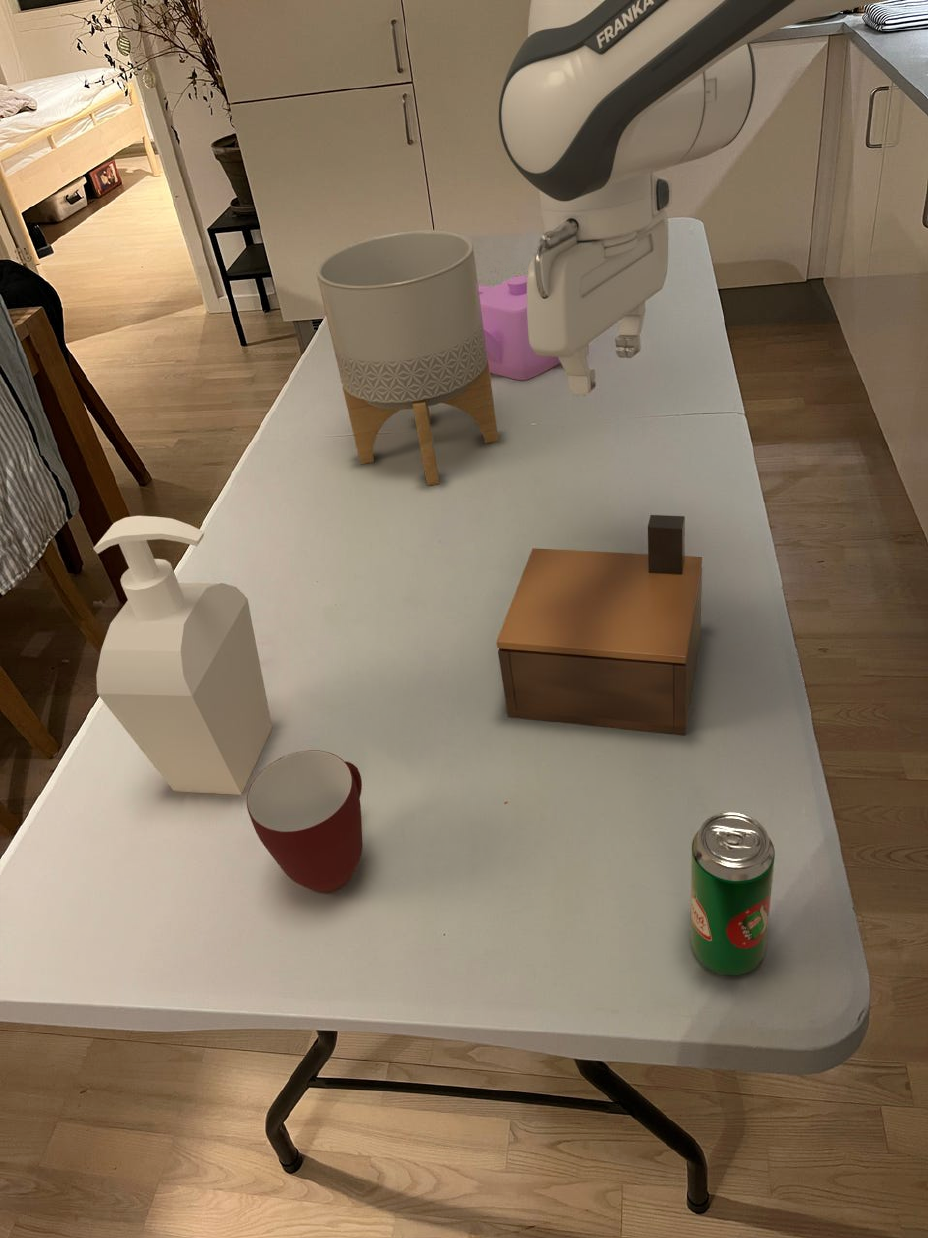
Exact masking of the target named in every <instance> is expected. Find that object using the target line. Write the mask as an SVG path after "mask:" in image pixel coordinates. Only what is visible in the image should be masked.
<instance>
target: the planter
mask: <svg viewBox="0 0 928 1238" xmlns="http://www.w3.org/2000/svg"><path fill="white" fill-rule="evenodd" d="M474 250H475V249H474V244H473V242H472V240H471V239H470V238H469V237H467V236H466V235H464V234H461V233H459V232H455V231H450V230H442V229H441V230H438V229H418V230H417V229H416V230H404V231H397V232H391V233H386V234H381V235H377V236H373V237H372V236H371V237H368V238H365V239H362V240H358V241H356V242H352V243H350V244H347V245H345V246H343V247H340V248H339V249H336V250H334V251H332V252H331V253H330V254H327V256H325V257H324V258H323V259H322V260H321V261H320V262H319V263H318V264H317V266H316V269H315V273H316V278H317V283H318V286H319V289H320V290H319V291H320V295H321V300H322V304H323V309H324V313H325V316H326V320H327V325H328V330H329V334H330V337H331V342H332V346H333V352H334V355H335V360H336V364H337V365H336V366H337V368H338V373H339V377H340V381H341V386H342V391H343V395H344V399H345V403H346V404H345V405H346V408H347V409H346V410H347V413H348V417H349V422H350V425H351V426H350V427H351V430H352V434H353V438H354V443H355V447H356V451H357V457H358V461H359V463H360V465H364V464H370V463H374V462H375V456H374V447H375V441H376V438H377V435H378V433H379V431H380V430H381V428H382V427H383V425H384V424H385V423H386V422H387V421H388V420H389V419H390V418H391V417H392V416H394V415H395V414H397V413H398V412H400V411H407V410H413V415H414V421H415V427H416V432H417V437H418V442H419V443H418V444H419V448H420V453H421V459H422V464H423V468H424V473H425V480H426V485H427V486H428V487H429V486H430V487H431V486H434V485H440V477H439V471H438V466H437V459H436V454H435V447H434V442H433V441H434V440H433V436H432V429H431V424H432V421H431V413H430V407H433V406H435V405H439V404H444V405H448V406H451V407H453V408H457V409H459V410H460V411H463V412H464V413H465V414H467V415H468V416H469V417H470V418H471V419H472V420H473V421H474V422H475V423H476V425H477V426H478V428H479V430H480V432H481V434H482V437H483V442H484V444H489V443H495V442H499V435H498V426H497V419H496V412H495V404H494V395H493V387H492V381H491V373H490V371H489V363H488V358H487V350H486V342H485V334H484V327H483V319H482V311H481V303H480V296H479V288H478V286H479V281H478V273H477V266H476V257H475V251H474Z"/></svg>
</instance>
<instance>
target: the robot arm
mask: <svg viewBox="0 0 928 1238" xmlns="http://www.w3.org/2000/svg"><path fill="white" fill-rule="evenodd" d="M887 1H889V0H531V1H530V6H529V11H528V12H529V13H528V24H527V38H526V39H525V40H524V42H522V44H521V46H520V48H518V51H517V52H516V54H515V56H514V58H513V60H512V62H511V64H510V65H509V69H508V71H507V73H506V76H505V78H504V82H503V85H502V89H501V93H500V97H499V103H498V127H499V133H500V138H501V142H502V146H503V147H504V151H505V152H506V155H507V156H508V157H509V160H510V161H511V163H512V164H513V165H514V167H515V168H516V169H517V171H518V172H519V174H521V175H522V176H523V177H524V178H525V180H527V181H528V182H529V183H530V184H531V185H532V186H533V187H535V188H536V189H537V190H538V194H539V205H540V206H539V207H540V215H541V216H540V217H541V226H542V235H541V236H540V238H539V245H538V247H537V250H536V252H535V253H534V255H533V258H532V260H531V261H530V263H529V266H528V269H527V275H526V276H527V320H528V337H529V343H530V346H531V348H532V349H533V351H534V352H535V354H536V355H539V356H548V357H559V361H560V364H561V366H562V368H563V370H564V371H565V373H566V375H567V378H568V379H567V380H568V390H569V392H570V394H571V395H573V396H579V397H585V396H587V395H589V394H590V393H591V392H592V391H594V390H595V388H596V385H597V384H596V371H595V370H596V369H590V366H589V363H588V361H587V356H588V355H589V353H590V352H589V351H590V349H589V344H590V343H591V342H593V341H594V340H595V339H597V338H598V337H600V335H602V334H603V333H605V332H606V331H607V330H609V329H610V328H612V327H614V325H616V324H617V323H619V327H618V335H617V336H616V337H615V338H614V340H615V342H614V343H615V347H616V348H615V355H617V356H616V357H618V358H622V359H623V358H626V359H632V358H634V356H636V355H637V354H638V353H640V351H641V349H642V348H641V334H642V328H643V324H644V319H645V315H646V302H647V301H648V300H649V299H650V298H652V297H653V296H654V295H656V294H658V293H659V292H661V290H663V288H664V285H665V282H666V278H667V274H668V266H669V218H668V214H667V211H666V210H665V209H668V208H669V207H670V206H671V204H672V200H673V199H672V198H673V197H672V196H673V189H672V187H673V186H672V182H671V180H670V179H669V178H667V177H664V176H661V175H658V174H656V173H657V172H660V171H663V170H666V169H669V168H671V167H675V166H679V165H682V164H685V163H689V162H692V161H696V160H699V159H702V158H705V157H708V156H709V155H712V154H713V153H715V152H718V151H719V150H721V149H723V148H725V147H727V146H728V145H730V144H731V143H732V142H733V141H734V140H735V139H736V138H737V136H738V135H739V134H740V132H741V131H742V129H743V128H744V125H745V124H746V121H747V120H748V117H749V115H750V113H751V112H750V111H751V109H752V107H753V106H752V105H753V102H754V97H755V90H756V79H757V77H756V62H755V56H754V52H753V48H752V45H751V42H753V41H754V40H757V39H759V38H761V37H764V36H766V35H767V34H770V33H773V32H776V31H778V30H780V29H783V28H786V27H789V26H792V25H795V24H799V23H801V22H805V21H808V20H812V19H815V18H819V17H823V16H827V15H831V14H835V13H840V12H844V11H848V10H851V9H856V8H861V7H865V6H870V5H874V4H878V3H883V2H887Z"/></svg>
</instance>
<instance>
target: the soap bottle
mask: <svg viewBox="0 0 928 1238" xmlns="http://www.w3.org/2000/svg"><path fill="white" fill-rule="evenodd" d="M204 536H205V531H204V530H201V529H199V528H198V527H196V526H193V525H191V524H189V523H186V522H183V521H180V520H178V519H174V518H171V517H162V516H151V515H150V516H149V515H133V516H126V517H123V518H121V519H119V520H117V521H115V522H113V523H112V525H111V526H109V529H107V531H106V532H105V533H104V534H103V536H102V537H101V538H100V539H99V541H97V543H96V544H95V546H93V548H92V549H93V551H94V552H95V554H100V553H102V552H103V551H104V550H107V549H108V548H109V547H113V546H116V545H118V546H119V548H120V551H121V553H122V555H123V557H124V559H125V563H126V564H127V566H128V568H127V569H126V570H125V571H124V572H123V574H122V575H121V578H120V579H119V581H120V584H121V587H122V589H123V592H124V594H125V596H126V598H127V601H126V602H125V604H124V605H123V606H122V608H121V609H120V610H119V611H118V613H117V614H116V616H115V617H114V618H113V619H112V621H111V622H110V624H109V627H108V630H107V633H106V635H105V638H104V641H103V644H102V646H101V648H100V654H99V658H98V659H99V660H98V665H97V670H96V694H97V695H98V696H99V697H100V699H101V701H102V702H103V703H104V704H105V706H106V707H107V708H108V709H109V711H110V712H111V713H112V714H113V716H114V717H115V718H116V720H117V722H119V723H120V725H121V726H122V728H123V729H124V730H125V731H126V733H127V734H128V735H129V736H130V738H131V739H132V740H133V741H134V743H135V744H136V745H137V747H138V748H139V749H140V750H141V751H142V753H143V754H144V755H145V757H146V758H147V759H148V760H149V762H150V763H151V765H153V767H154V768H155V769H156V770H157V772H158V773H159V774H160V776H161V777H162V779H164V781H165V782H166V783H167V785H168V786H169V787H170V788H171V790H172V791H173V792H180V793H197V794H198V793H201V794H217V795H219V794H220V795H221V794H222V795H234V796H235V795H236V796H238V795H239V796H242V795H243V793H244V790H245V788H246V786H247V784H248V781H249V780H250V777H251V775H252V773H253V771H254V769H255V766H256V764H257V762H258V760H259V757H260V756H261V753H262V752H263V749H264V747H265V745H266V743H267V740H268V739H269V736H270V734H271V731H272V730H273V723H272V718H271V713H270V707H269V702H268V699H267V693H266V688H265V683H264V678H263V672H262V667H261V663H260V661H261V660H260V657H259V652H258V646H257V641H256V635H255V630H254V625H253V620H252V614H251V610H250V603H249V599H248V597H247V596H246V595H245V594H244V593H243V592H242V591H241V590H240V589H239V588H238V587H237V586H235V585H231V584H227V583H223V582H179V581H178V578H177V576H176V573H175V571H174V568H173V567H172V563H171V562H169V561H168V560H167V559H162V558H154V555H153V553H152V551H151V548H150V546H149V543H148V541H155V540H166V541H170V542H171V541H172V542H178V543H183V544H187V545H190V546H195V547H198V546H199V544H200V543H201V542H202V540H203V538H204Z"/></svg>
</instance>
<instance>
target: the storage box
mask: <svg viewBox="0 0 928 1238" xmlns="http://www.w3.org/2000/svg"><path fill="white" fill-rule="evenodd" d="M702 593H703V567H702V568H701V574H700V580H699V587H698V593H697V599H696V605H695V611H694V618H693V624H692V630H691V636H690V642H689V648H688V655H687V661H686V664H683V663H671V662H659V661H647V660H634V659H622V658H610V657H598V656H586V655H574V654H562V653H550V652H538V651H526V650H514V649H501V648H498V650H497V654H498V661H499V668H500V675H501V680H502V687H503V694H504V700H505V707H506V714H507V717H508V718H518V719H525V720H536V721H547V722H555V723H565V724H573V725H574V724H575V725H576V724H577V725H584V726H593V727H595V726H596V727H602V728H603V727H604V728H605V727H606V728H614V729H624V730H632V731H640V732H641V731H642V732H651V733H660V734H661V733H662V734H670V735H680V736H681V735H682V736H685V735H686V734H687V728H688V727H687V726H688V720H689V714H690V708H691V702H692V701H691V700H692V694H693V687H694V681H695V676H696V675H695V674H696V669H697V660H698V655H699V647H700V642H701V635H702V600H703V599H702V596H703V594H702Z"/></svg>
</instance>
